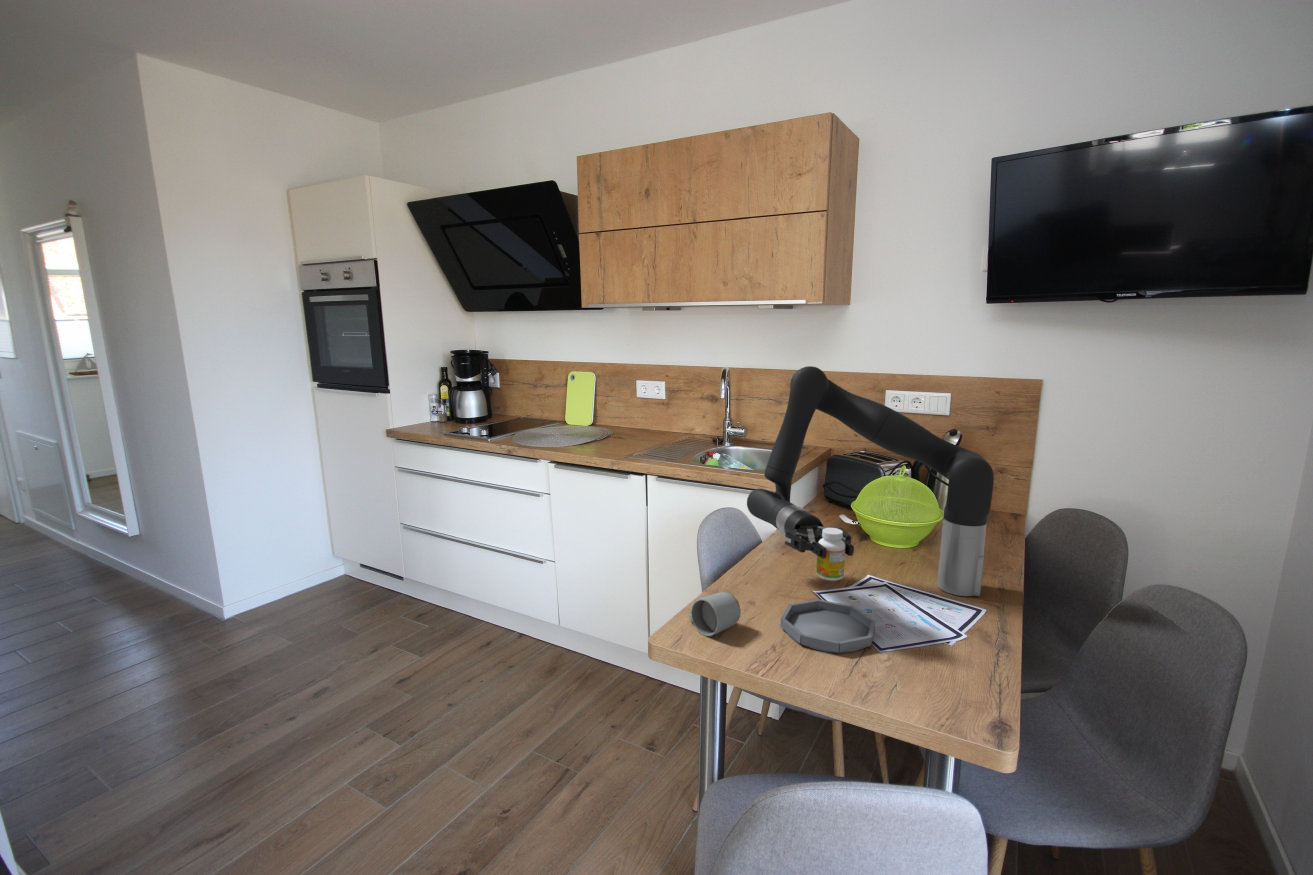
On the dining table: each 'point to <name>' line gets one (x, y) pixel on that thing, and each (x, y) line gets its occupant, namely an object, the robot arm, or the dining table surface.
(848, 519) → the fork
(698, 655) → the dining table surface
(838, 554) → the supplement bottle
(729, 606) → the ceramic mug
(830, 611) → the dish
